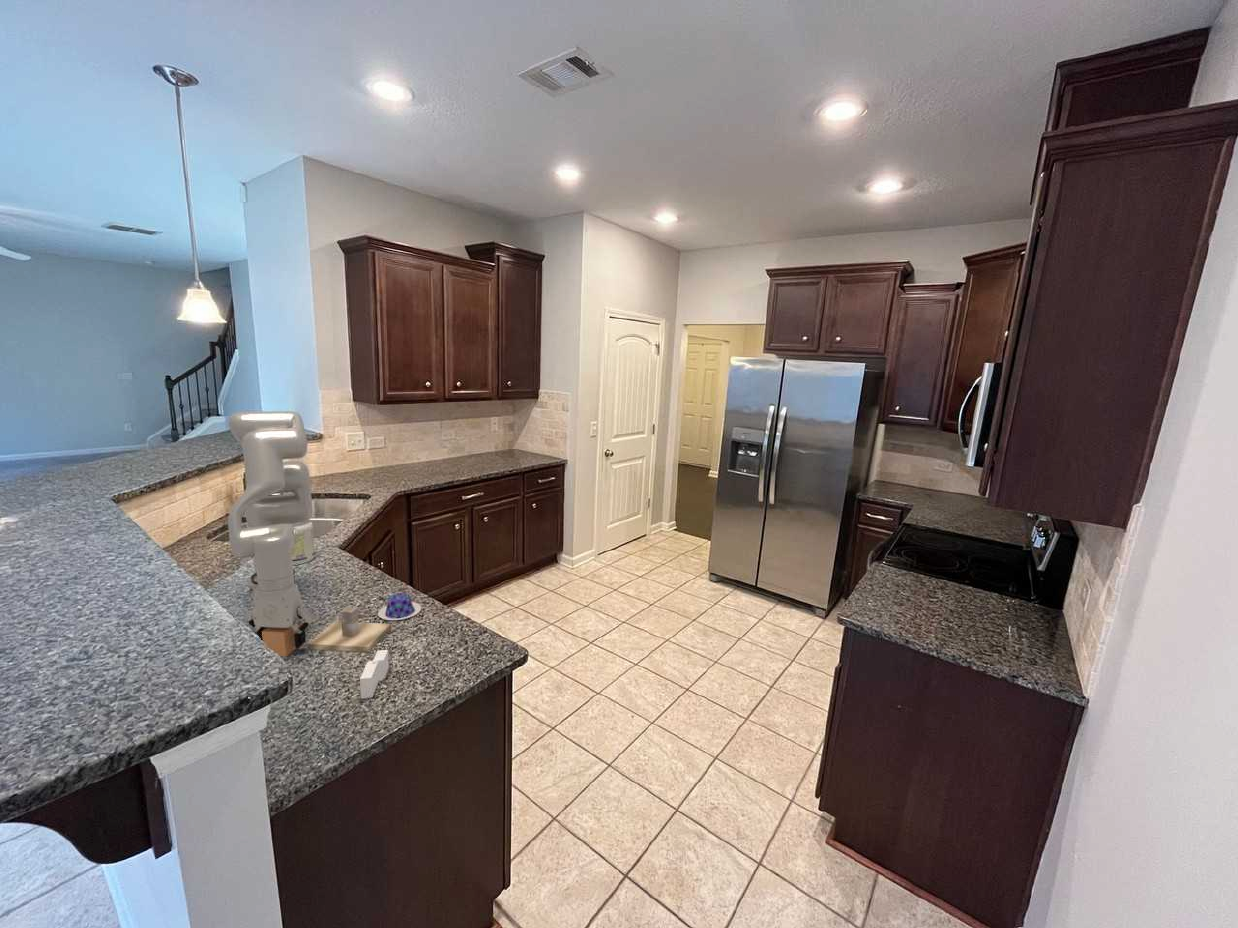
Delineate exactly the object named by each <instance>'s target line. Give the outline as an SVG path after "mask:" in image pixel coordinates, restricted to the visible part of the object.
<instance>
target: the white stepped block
mask: <svg viewBox="0 0 1238 928" xmlns="http://www.w3.org/2000/svg"><path fill="white" fill-rule="evenodd" d="M389 666H390V665H389V650H388V649H381V650H380V649H378V650H377V651H376V653H375V655H374V658H373V659H372V660H369V661H367V663H366V664H365V667H364V668H363V671H362V673H361V675H360V677H359V686H360V699H371V698H372V699H373V697H374V695H375V692H376V690H377V687H378V684H379V682H382V681H383V680H385V679H386V677H387V674H388V671H389Z"/></svg>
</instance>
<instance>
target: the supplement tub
mask: <svg viewBox="0 0 1238 928" xmlns="http://www.w3.org/2000/svg"><path fill="white" fill-rule="evenodd" d="M291 525H292V526H294V528H296V530H297V534H298V541H297V544H295V546H294V548H293V549H292V562H293V566H297V565H302V564H306V563H309V562H311V561H312V560H314V559H315V557H316V548H315V536H314V524H313V522H312V521H310V520H309V521H307V522H304V523H298V524H291Z"/></svg>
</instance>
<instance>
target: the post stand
mask: <svg viewBox="0 0 1238 928" xmlns="http://www.w3.org/2000/svg"><path fill="white" fill-rule="evenodd" d="M359 621H360V619H359V607H358V606H346V607H345V608H344V609H343V610H341V611H340V620H338V621H337V620H335V621H333V622H332V623H330V624H329V626H327V627H326V628H324V629H323V630H322V631H321V632H320V633H318V634H317V635H316V636H315V637H314V638H313V639H311V640H310V641H309V642H308V643H307V649H308V650H316V651H317V650H319V651H320V650H321V651H333V652H334V651H335V652H336V651H337V652H352V653H353V652H354V653H356V652H359V653H370V652H371V651H372V650H373V648H375V647H376V646H377V645H378V643H379V642H380V641H381V640H382V639H383V638H384V637H385V636H386V634H388V633H389V631H390V630H391V629H392V626H391V625H392V624H391V623H380V622H379V623H378V622H359Z"/></svg>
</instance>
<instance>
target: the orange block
mask: <svg viewBox="0 0 1238 928" xmlns="http://www.w3.org/2000/svg"><path fill="white" fill-rule="evenodd" d="M296 624H297V625H298V626H299V624H298V623H296ZM299 627H300V626H299ZM295 633H296V632H295V631H294V629H293V628H292V627H290V628H269V627H268V628H266V629H265V630H263V631H262V638H263V642H264V643H265V644H266V646H267V647H268V648H270V649H272V650H273V651H274V652H276V653H277V654H279V656H278V657H284V658H287V657H288V656H289V655H291V653H293V652H294V651H295V650H296V649H297V648H296V647H295V640H294V634H295Z"/></svg>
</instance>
